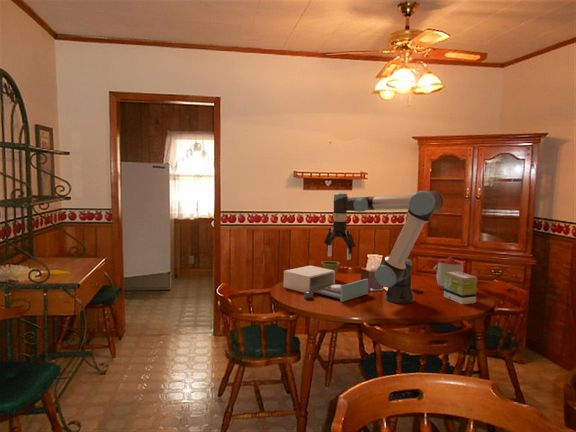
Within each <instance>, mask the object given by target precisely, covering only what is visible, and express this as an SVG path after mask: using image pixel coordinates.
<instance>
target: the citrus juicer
mask: <svg viewBox="0 0 576 432" xmlns="http://www.w3.org/2000/svg"><path fill="white" fill-rule="evenodd" d="M464 264H465V262H464V261H463V260H457V259H454V258H453V257H452V256H448V258H439V259H438V260H437V264H435V265H434V267H433V269H434V270H435V269H436V281H437V286H438V288H439V289H441V290H442V291H444V284H445V272H456V271H459V272H462V273H464Z"/></svg>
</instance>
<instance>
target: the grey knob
mask: <svg viewBox="0 0 576 432" xmlns="http://www.w3.org/2000/svg"><path fill="white" fill-rule="evenodd" d="M303 299H305V300H306V301H307V300H313V299H314V293H313V292H312V291H305V292H303Z"/></svg>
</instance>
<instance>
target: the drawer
mask: <svg viewBox="0 0 576 432" xmlns="http://www.w3.org/2000/svg"><path fill="white" fill-rule="evenodd" d="M331 285H340V284H338V283H336V282H335V283H332V284H328V285H324V286H320V287H316V288H313V289H310V291H312V292H314V293H316V294H320V295H324V296H327V297H330V298H331V297H332V298H335V299H339V300H340V302H341V303H343V302H346V301H350V300H352V299H353V300H354V299H355V298H359V297H362V296H364V295H368V294H369V278H363V279H360V280H356V281H353V282H349V283H347V284H346V283H345V284H341V285H342V286H341V291H336V290H332V289H331Z"/></svg>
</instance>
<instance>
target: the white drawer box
mask: <svg viewBox="0 0 576 432" xmlns="http://www.w3.org/2000/svg"><path fill="white" fill-rule="evenodd" d="M332 283H335V284H336V279H335V271H334V270H330V269H325V268H323V267H320V266H316V265H315V266H314V265H306V266H302V267H297V268H292V269H286V270H283V288H284V289H285V288H286V289H289V290H291V291H292V290H293V291H296V292H301V293H304V292H305V291H310V289H313V288H316V287H320V286H324V285H328V284H332ZM314 293H315V292H313V294H314Z"/></svg>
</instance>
